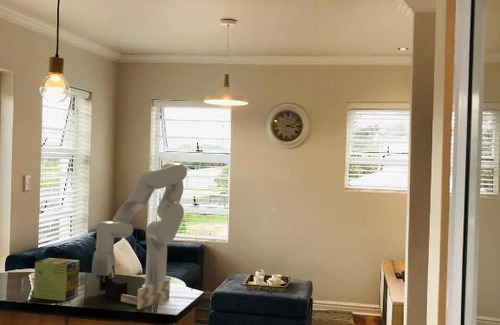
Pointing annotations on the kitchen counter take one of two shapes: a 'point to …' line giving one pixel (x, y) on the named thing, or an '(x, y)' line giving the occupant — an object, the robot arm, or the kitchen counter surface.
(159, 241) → the robot arm
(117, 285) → the digital camera
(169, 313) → the kitchen counter surface
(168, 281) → the display bay
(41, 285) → the protein box
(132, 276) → the kitchen counter surface
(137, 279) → the kitchen counter surface
